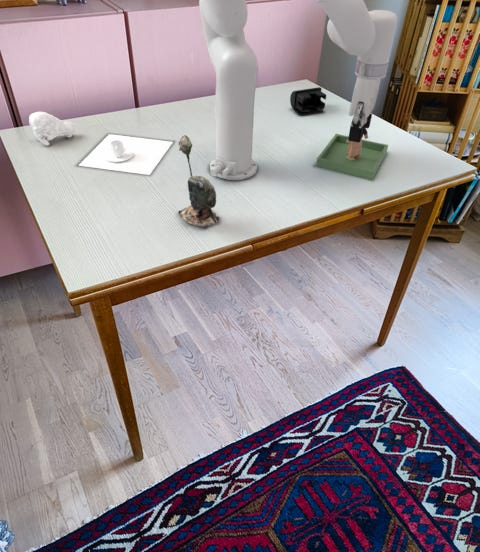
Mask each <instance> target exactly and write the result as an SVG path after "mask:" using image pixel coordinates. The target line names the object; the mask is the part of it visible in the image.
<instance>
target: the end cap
mask: <svg viewBox="0 0 480 552" xmlns="http://www.w3.org/2000/svg"><path fill="white" fill-rule="evenodd" d="M322 99H323V100H324V101H326V100H327V94H326V93H325V92H323V91H322V87H320V86H318V87H311V88H305V89H304V88H303V89H297V90H293V91H292V92H291V94H290V96H289V103H290V106H291V108H292V110H293V111H294V113H296V114H297V115H299V117H304V116H311V115H315V114H322V113H324V112H325V111H324V109H325V107H326V102H324V101H322Z"/></svg>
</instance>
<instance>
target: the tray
mask: <svg viewBox="0 0 480 552" xmlns="http://www.w3.org/2000/svg"><path fill="white" fill-rule="evenodd" d="M348 137H349V135H344V134H339V133H335V134H334V135H333V137H332V138H331V139H330V141H329V142H328V143H327V145H326V146H325V147H324V149H323V150H322V151H321V152H320V154H318V157H317V158H316V164H315V167H317V168H320V169H321V168H322V169H326V170H330V171H333V172H339V173H341V174H347V175H349V176H355V177H359V178H362V179H367V180H370V181H372V180H373V179H374V177H375V175H376V173H377V172H378V170H379V168H380V166H381V164H382V162H383V160H384V159H385V156H386V154H387V153H388V148H389V144H385V143H382V142H376V141H371V140H368V139H363V138H362V149H361V154H360V156H361V158H360V159H357V158H355V159H356V160H355V161H351V160H349V159H347V158H346V157H347V156H348V155H349V154H347V151H348V148H349V145H350V143H349V144H348V143H346V141H347V140H348ZM350 142H351V141H350Z"/></svg>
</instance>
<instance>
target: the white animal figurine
mask: <svg viewBox="0 0 480 552" xmlns="http://www.w3.org/2000/svg"><path fill="white" fill-rule="evenodd" d="M28 119H29V120H28V123H29V125H30V127H31V129H32V133H33V135H34V137H35V138H36V139H37V140H38V141H39V142H40V143H41V144H43V145H45V146H50V145H51V144H50V142H49V141H53V140H54V139H55V138H56V137H59V136H61V135H65V136H66V137H67V138H72V137H73V135H74V133H75V132H76V126H75V124H74V123H73V122H71V121H69V120H62V119H60V118H58V117H56V116H54V115H53V114H51V113H48V112H46V111H35V112H33V113H31V114H29V117H28ZM45 134H47V137H46V136H45Z"/></svg>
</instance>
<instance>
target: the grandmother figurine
mask: <svg viewBox="0 0 480 552" xmlns="http://www.w3.org/2000/svg"><path fill="white" fill-rule="evenodd" d="M360 115H364V114H360ZM359 120H360V123H361V119H359ZM366 122H367V118H366V119H364V122H363V125H364V124H366ZM363 125H362V127H363V131H362V136H361V141H360V142H359V143H358V142H353V141H351V142H350V141H349V140H347V141H346V143H348V144H349V143H350V145H349V148H348V151H347V154H349V155H348V156H347V157H346V158H347V159H349V160H351V161H355V160H356V159H355V158H357V159H360V158H361V156H360V154H361V149H362V139H363V138H364V140H368V139H369V135H368V129H367V128H365V126H363Z"/></svg>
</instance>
